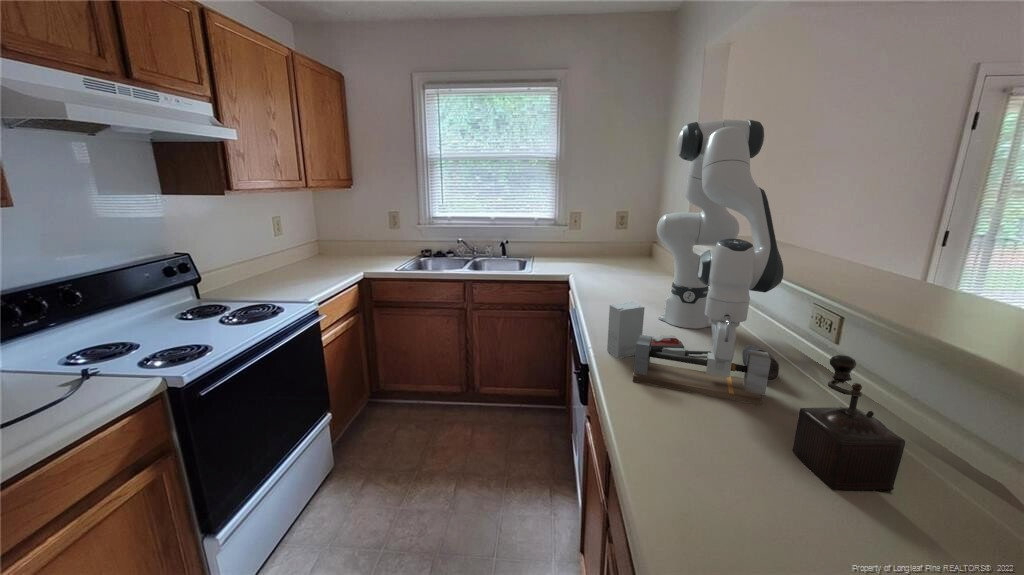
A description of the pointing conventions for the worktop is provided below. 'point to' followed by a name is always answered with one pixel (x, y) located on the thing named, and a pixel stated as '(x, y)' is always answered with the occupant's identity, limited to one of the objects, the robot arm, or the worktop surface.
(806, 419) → the manual coffee grinder
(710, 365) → the sleeve
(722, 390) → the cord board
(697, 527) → the worktop surface
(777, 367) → the perforated stone tool
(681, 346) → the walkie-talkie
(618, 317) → the skincare box
